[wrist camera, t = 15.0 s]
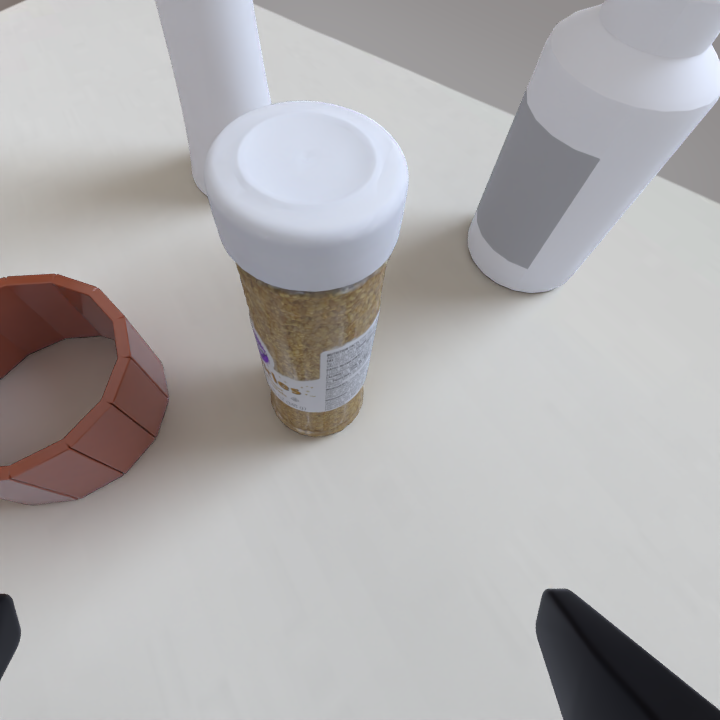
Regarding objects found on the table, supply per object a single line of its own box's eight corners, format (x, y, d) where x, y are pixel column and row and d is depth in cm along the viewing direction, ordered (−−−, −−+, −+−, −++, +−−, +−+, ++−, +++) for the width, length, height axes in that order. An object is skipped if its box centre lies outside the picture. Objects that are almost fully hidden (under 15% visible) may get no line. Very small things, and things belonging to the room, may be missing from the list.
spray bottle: (496, 193, 28) (718, -303, 12) (591, 244, 27) (984, -244, 11) (445, 256, 26) (642, -275, 10) (547, 316, 24) (984, -192, 8)
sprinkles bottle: (254, 388, 21) (157, 135, 9) (327, 339, 23) (326, 70, 11) (309, 460, 20) (280, 272, 8) (383, 403, 21) (456, 172, 9)
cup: (152, 309, 23) (114, 252, 19) (182, 465, 19) (143, 437, 15) (-87, 368, 20) (-190, 318, 16) (-103, 558, 17) (-239, 555, 13)
